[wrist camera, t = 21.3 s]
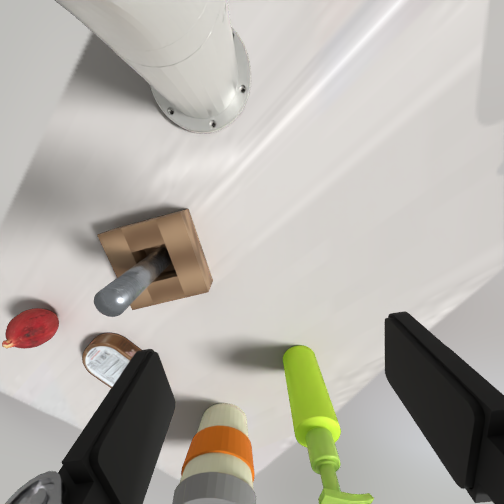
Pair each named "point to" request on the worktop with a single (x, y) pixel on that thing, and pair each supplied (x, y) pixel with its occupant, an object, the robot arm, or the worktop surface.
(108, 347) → the tin
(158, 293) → the rod stand
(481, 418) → the robot arm
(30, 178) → the worktop surface
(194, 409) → the worktop surface
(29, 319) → the onion
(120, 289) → the metal rod
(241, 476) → the reusable coffee cup
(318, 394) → the soap dispenser
